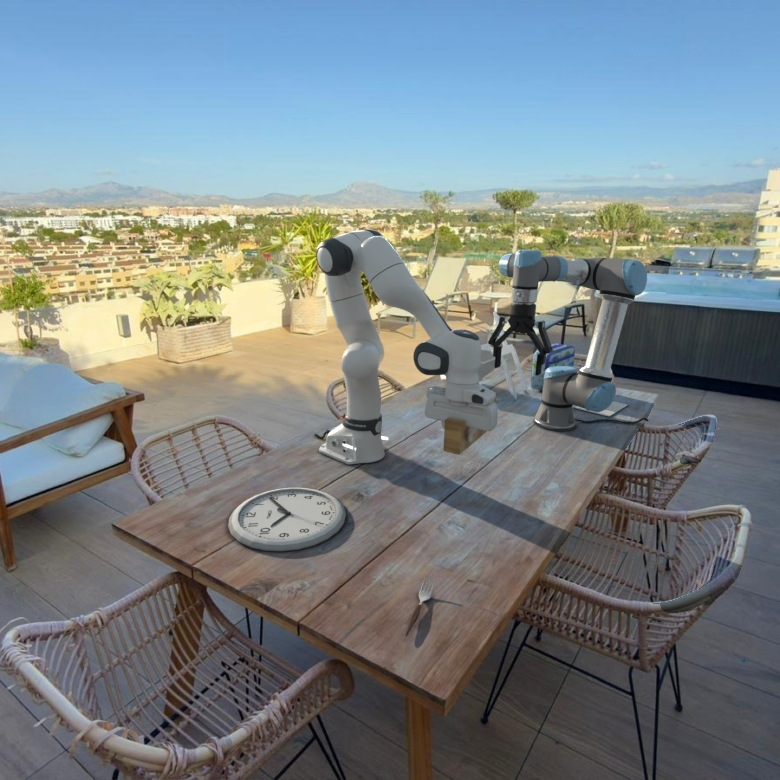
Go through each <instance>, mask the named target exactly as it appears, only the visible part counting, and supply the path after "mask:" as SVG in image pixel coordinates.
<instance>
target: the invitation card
mask: <svg viewBox="0 0 780 780" xmlns="http://www.w3.org/2000/svg"><path fill="white" fill-rule="evenodd" d="M628 406H629V404H627V403H623V402H618V401H614V400H613V401H612V403H611V404H610V406H609V407H607V408H606V409H605V410H604V411H601V412H594V411H590V410H586V409H584V408H581V407H578V406H574V407H573V409H575V410H581V411H584V412H587V413H593V414H596V415H600V416H604V417H608V418H609V417H611V416H613V415H614V414H616V413H617V412H619V411H621V410H623V409H624V408H626V407H628Z"/></svg>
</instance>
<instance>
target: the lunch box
mask: <svg viewBox="0 0 780 780" xmlns="http://www.w3.org/2000/svg"><path fill="white" fill-rule="evenodd" d="M551 346H552V349H553V351H552V352H551V353H548V354H546V359H545V364H543V365H542V369H541V374H540V375H538V376H537V375H535V373H536V363H537V354H539V353H540V352H539V351H538V349H537V350H536V351H535V352H534V354H533V357H532V362H531V371H530V372H531V374H530V387H531V389H533V390H539V391H543V381H544V379H543V378H544V375H545V370H546V369H547V368H549V367H555V366H571V367H574V363H575V352H576V351H575V346H573V345H568V344H562V343H553V344H551Z"/></svg>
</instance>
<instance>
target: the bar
mask: <svg viewBox="0 0 780 780" xmlns="http://www.w3.org/2000/svg"><path fill="white" fill-rule="evenodd" d="M494 402H495V404H496V405H497V398H495V399H494ZM443 430H444V429H443ZM443 432H444V433H443V449H442V450H443V451H442V452H446V453H450V454H453V455H458V456H460V455H461V454H463V453H464V452H465V451H466V450H467V449H469V448H470V447H471V446H472V445H473V444H474V443H475V442H477V441H478V440H480V439H481V437H483V436H484V435H485V434H487V433H488V431H485V430H480V429H477V430H476V432H475V433H474V434H473V439H472V441H471V442H468V441H465V439H466V438H465V437H466V435H467V434H470V433H471V431H470V427H467V426H465V420H460V419H456V418H451V417H449V418H447V419H446V420H445V430H444V431H443Z"/></svg>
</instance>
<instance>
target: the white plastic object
mask: <svg viewBox="0 0 780 780" xmlns="http://www.w3.org/2000/svg"><path fill="white" fill-rule="evenodd" d="M492 315H493V319H494V321H495V324H496V325H495V326H496V327H497V326H498V324H499V319H500V315H499V314H498V312H497V311H496V310H495V311H492ZM504 333H505V331H504V328H503V329H502V331H501V332H500V334H499V338H500V337H501V336H502V335H503V334H504ZM490 345H491V344H488V342H487V343H483V344H481V363H480V368H479V371H478V376H479V383H480V382H482V381H484V378H485V377H486V376H487V375H489V374H490V373H492V372H494V371H495V370H496V369H497V368H494V367H495V357H493V348H492V347H491V346H490ZM501 345H502V352H501V364H500V366H502V370H503V373H504V376H505V380H506V383H507V386H508V390H509V393H510V394H511V395H512V397H513V398H514V399H515V400H517V392H516V391H517V390H516V388H515V385H514V381H513V378H512V375H511V371H510V369H509V365H508V361H510V360H513V363H514V366H515V369H516V372H517V376H518V380H519V382H520V385H521V389H522V391H523V393H524V395H525V396H526V397H528V396H531V395H530V390H529V388H528V387H529V386H528V384H527V381H526V378H525V375H524V371H523V369H522V368H523V367H522V366H521V362H520V359H519V355H518V352H517V349H516V347H515V346H514V345H513V343H511V344H508V341H507V338H506V339H505V340H504V341H503V342H502V343H501ZM439 377H440V381H442V383H443V384H444V386H445V385H446V376H445V375H439Z"/></svg>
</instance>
